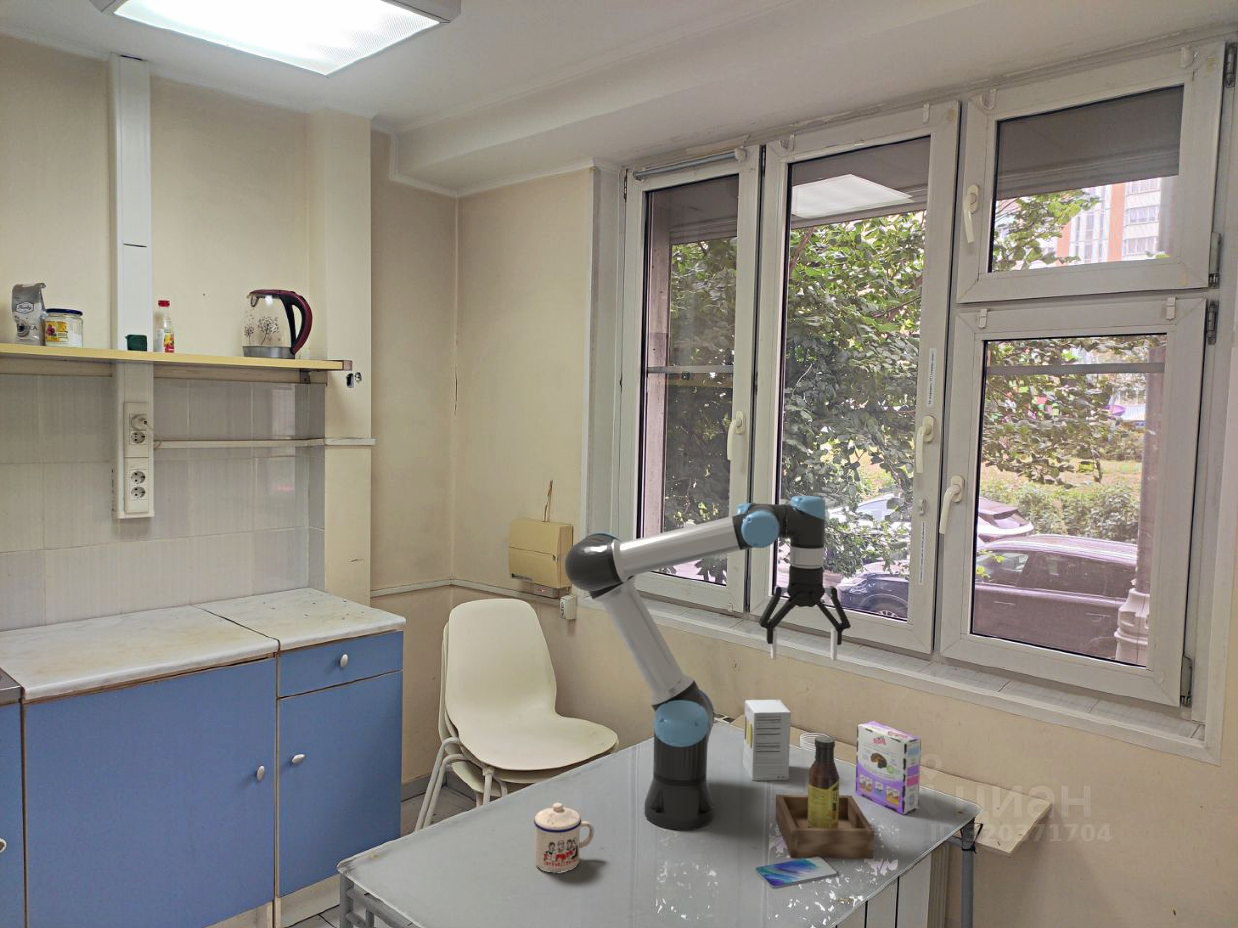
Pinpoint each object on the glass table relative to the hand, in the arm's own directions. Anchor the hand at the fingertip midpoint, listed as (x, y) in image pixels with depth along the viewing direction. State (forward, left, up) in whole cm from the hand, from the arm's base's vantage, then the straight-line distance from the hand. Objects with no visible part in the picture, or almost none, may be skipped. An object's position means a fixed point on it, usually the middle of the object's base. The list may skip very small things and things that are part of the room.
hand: (803, 658), depth 201 cm
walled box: (+1, -18, -33) cm, 37 cm away
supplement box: (-5, +15, -33) cm, 37 cm away
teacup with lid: (-52, -29, -33) cm, 68 cm away
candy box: (+20, 0, -33) cm, 39 cm away
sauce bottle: (+1, -18, -32) cm, 37 cm away
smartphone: (-7, -32, -33) cm, 47 cm away
